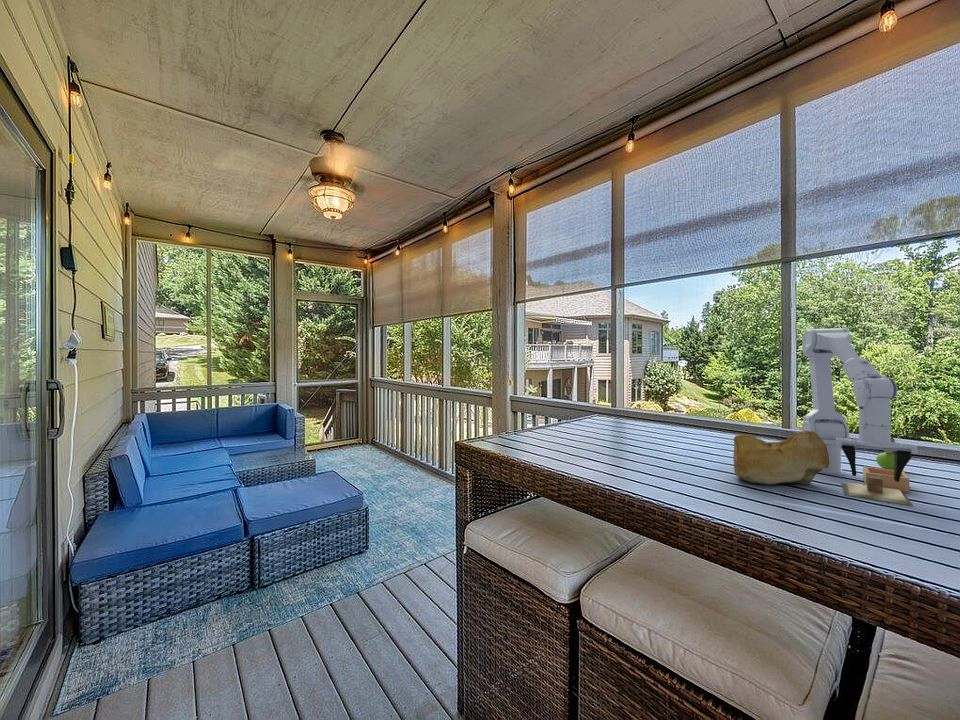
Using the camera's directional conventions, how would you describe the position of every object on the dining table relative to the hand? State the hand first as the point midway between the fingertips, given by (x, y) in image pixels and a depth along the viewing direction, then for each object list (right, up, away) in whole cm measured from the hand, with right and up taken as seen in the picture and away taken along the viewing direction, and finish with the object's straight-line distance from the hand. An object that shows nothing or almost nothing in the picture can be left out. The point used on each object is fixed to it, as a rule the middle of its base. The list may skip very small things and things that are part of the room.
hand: (874, 477), depth 100 cm
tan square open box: (+9, -4, +7) cm, 12 cm away
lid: (0, -4, 0) cm, 4 cm away
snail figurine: (+26, -4, +22) cm, 34 cm away
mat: (0, -5, 0) cm, 5 cm away
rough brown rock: (-15, -5, +14) cm, 22 cm away
